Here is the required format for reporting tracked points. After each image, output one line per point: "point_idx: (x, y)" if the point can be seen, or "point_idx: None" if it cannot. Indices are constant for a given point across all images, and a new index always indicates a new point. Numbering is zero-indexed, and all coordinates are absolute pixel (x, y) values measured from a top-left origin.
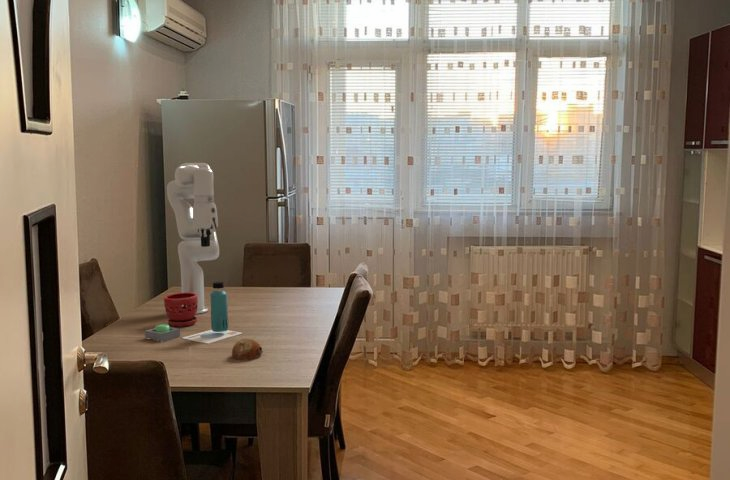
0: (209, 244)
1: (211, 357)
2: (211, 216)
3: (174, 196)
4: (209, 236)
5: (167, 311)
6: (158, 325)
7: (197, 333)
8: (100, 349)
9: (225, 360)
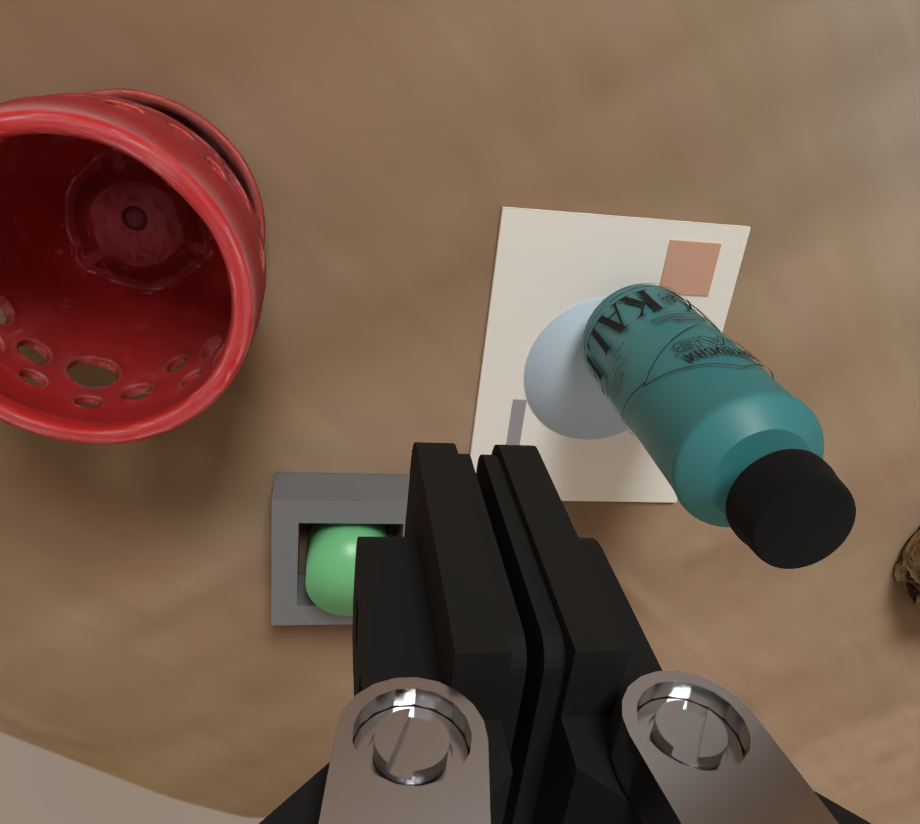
0: (537, 473)
1: (815, 633)
2: None
3: None
4: (622, 646)
5: (75, 364)
6: (318, 586)
7: (480, 385)
8: (260, 793)
9: (894, 632)
